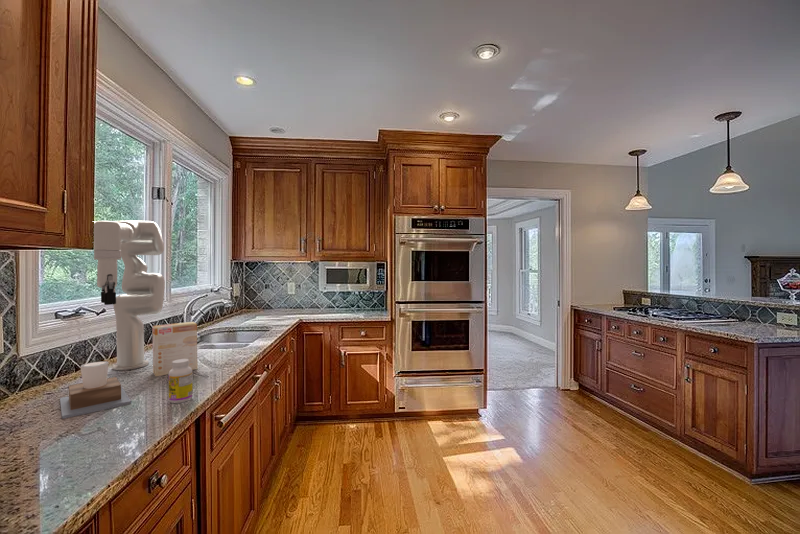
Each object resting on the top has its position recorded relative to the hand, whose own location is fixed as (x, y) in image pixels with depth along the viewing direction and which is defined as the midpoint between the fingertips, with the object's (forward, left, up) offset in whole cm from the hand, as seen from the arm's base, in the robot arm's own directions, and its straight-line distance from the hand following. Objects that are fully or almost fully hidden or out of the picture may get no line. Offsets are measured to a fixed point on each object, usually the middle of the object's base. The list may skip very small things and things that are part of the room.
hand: (108, 303), depth 129 cm
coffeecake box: (-6, +22, -31) cm, 38 cm away
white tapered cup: (+15, -5, -25) cm, 29 cm away
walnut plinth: (+14, -5, -30) cm, 34 cm away
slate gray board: (+14, -5, -30) cm, 34 cm away
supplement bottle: (+32, +15, -31) cm, 47 cm away
